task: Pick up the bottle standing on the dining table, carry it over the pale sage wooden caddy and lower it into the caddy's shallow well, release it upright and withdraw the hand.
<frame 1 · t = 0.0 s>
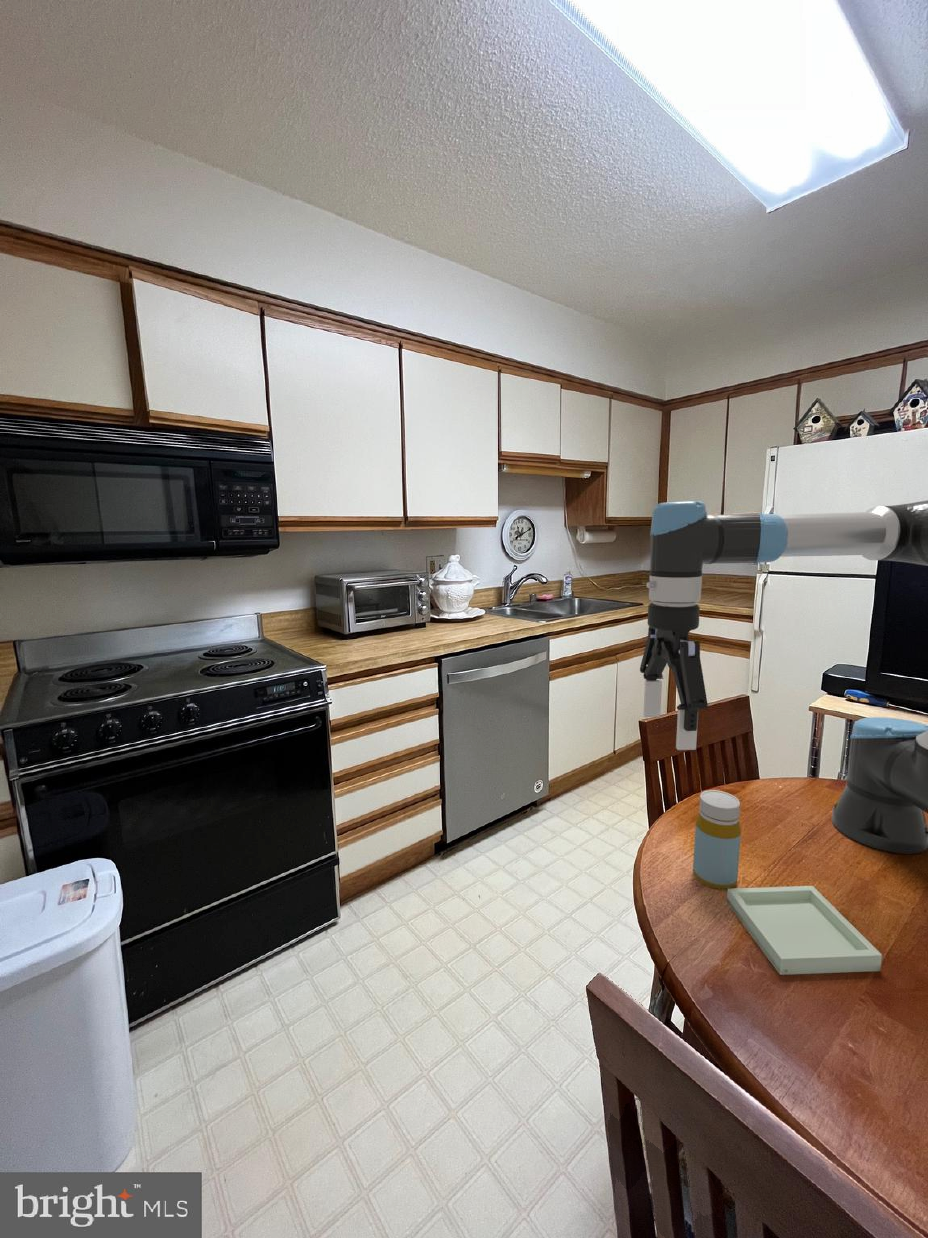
hand: (667, 731, 84), 28 cm above the table, fingers open, 13 cm apart
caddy: (796, 933, 78), on the table
bottle: (714, 879, 91), on the table
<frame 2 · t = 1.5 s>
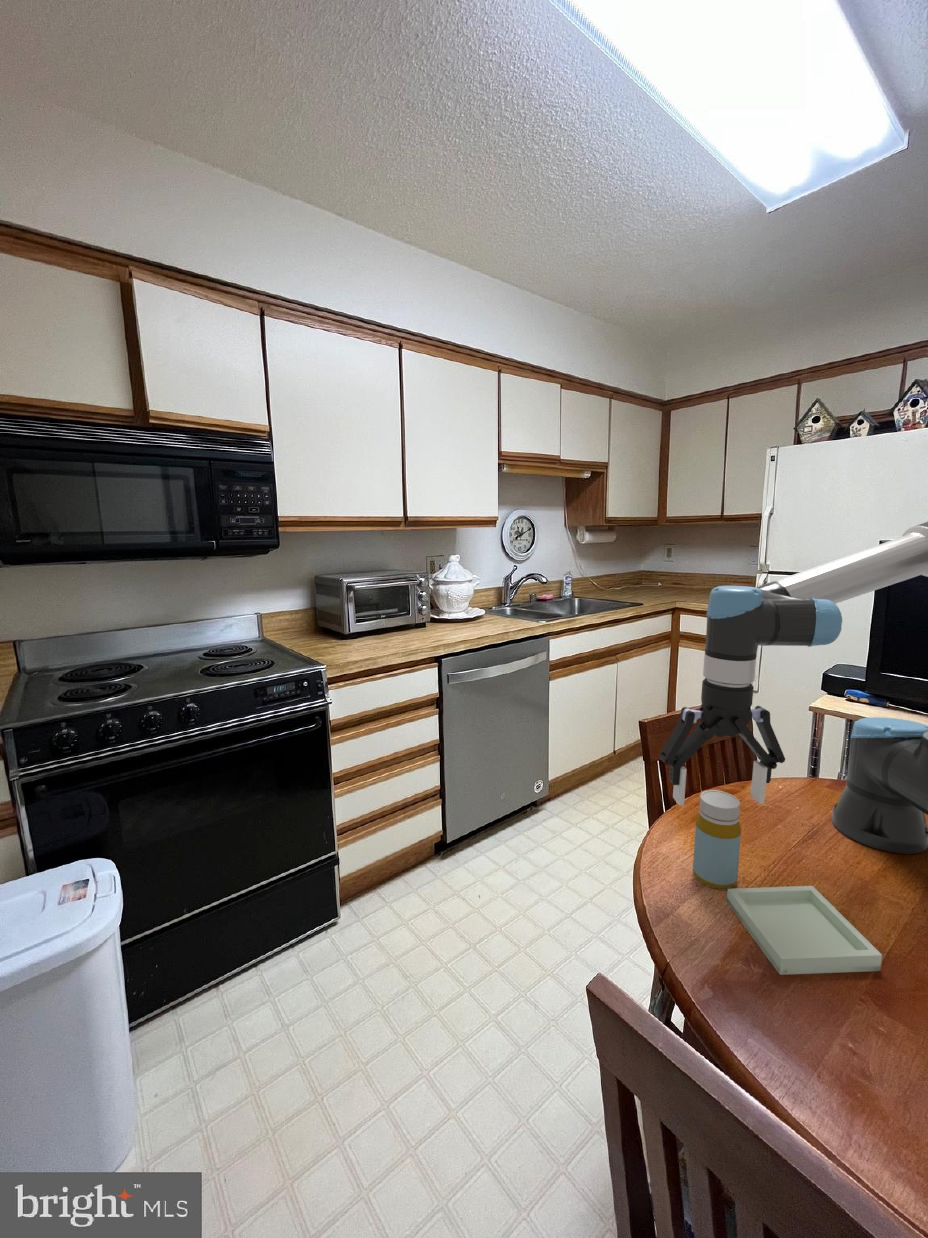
hand: (717, 800, 88), 15 cm above the table, fingers open, 13 cm apart
nothing on the table moved.
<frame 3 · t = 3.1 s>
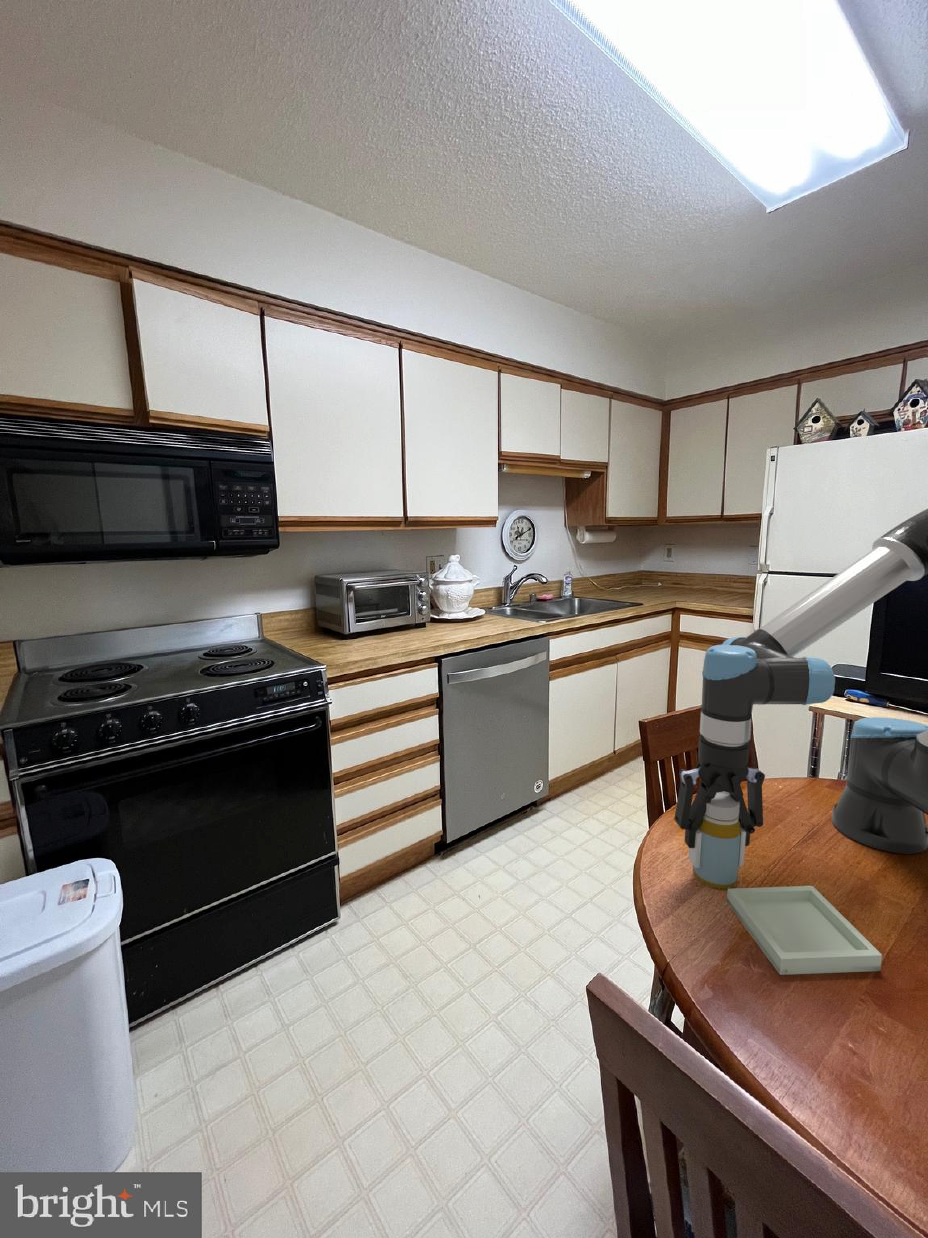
hand: (715, 862, 90), 3 cm above the table, fingers closed on bottle, 7 cm apart
bottle: (714, 878, 91), on the table, touching gripper
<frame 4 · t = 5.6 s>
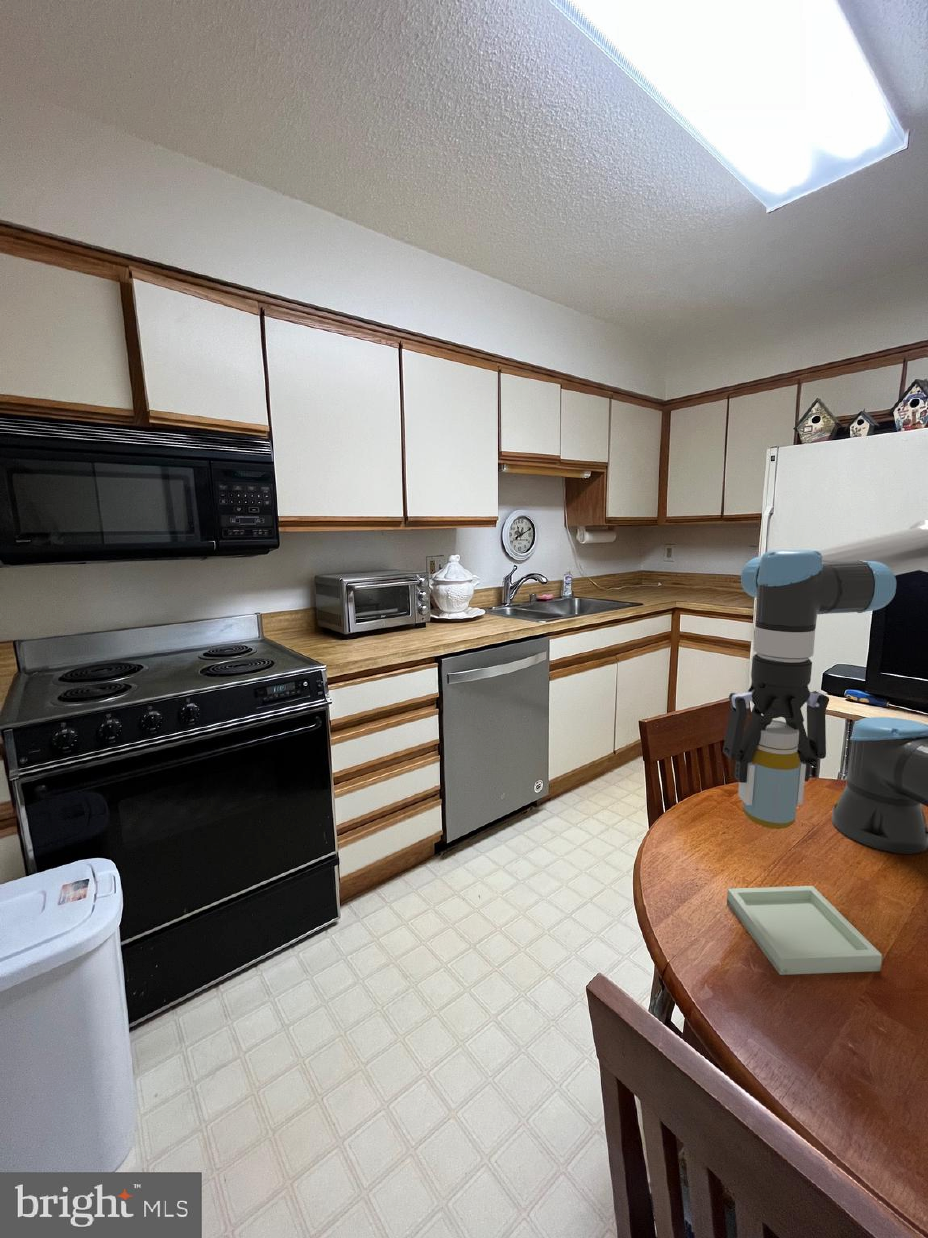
hand: (769, 800, 80), 19 cm above the table, fingers closed on bottle, 7 cm apart
bottle: (767, 819, 81), point 16 cm above the table, touching gripper
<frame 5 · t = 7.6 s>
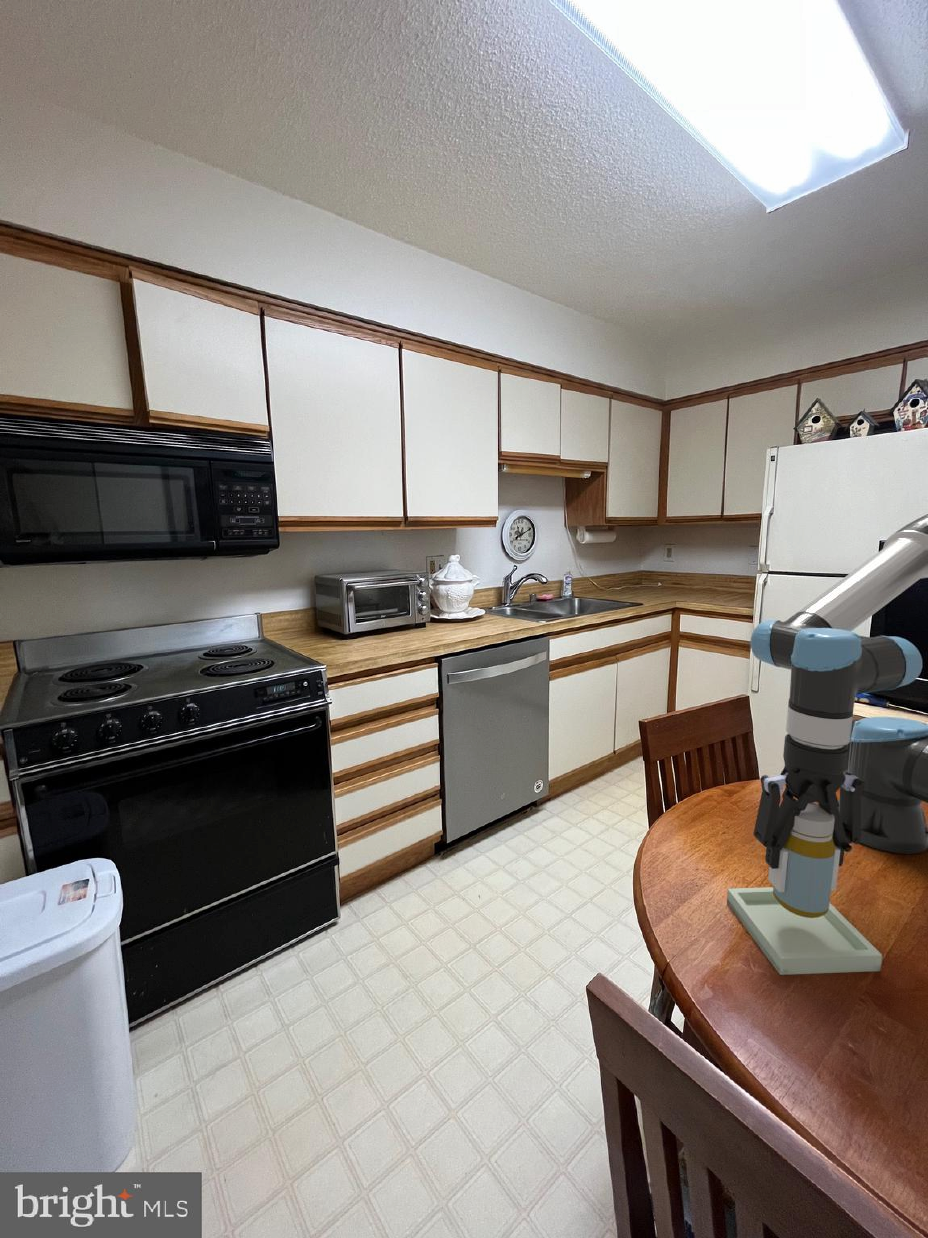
hand: (801, 885, 77), 8 cm above the table, fingers closed on bottle, 7 cm apart
bottle: (799, 904, 77), point 5 cm above the table, touching gripper
when the fingers open (5 cm above the table, at t = 8.5 s): bottle drops 2 cm, resting on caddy.
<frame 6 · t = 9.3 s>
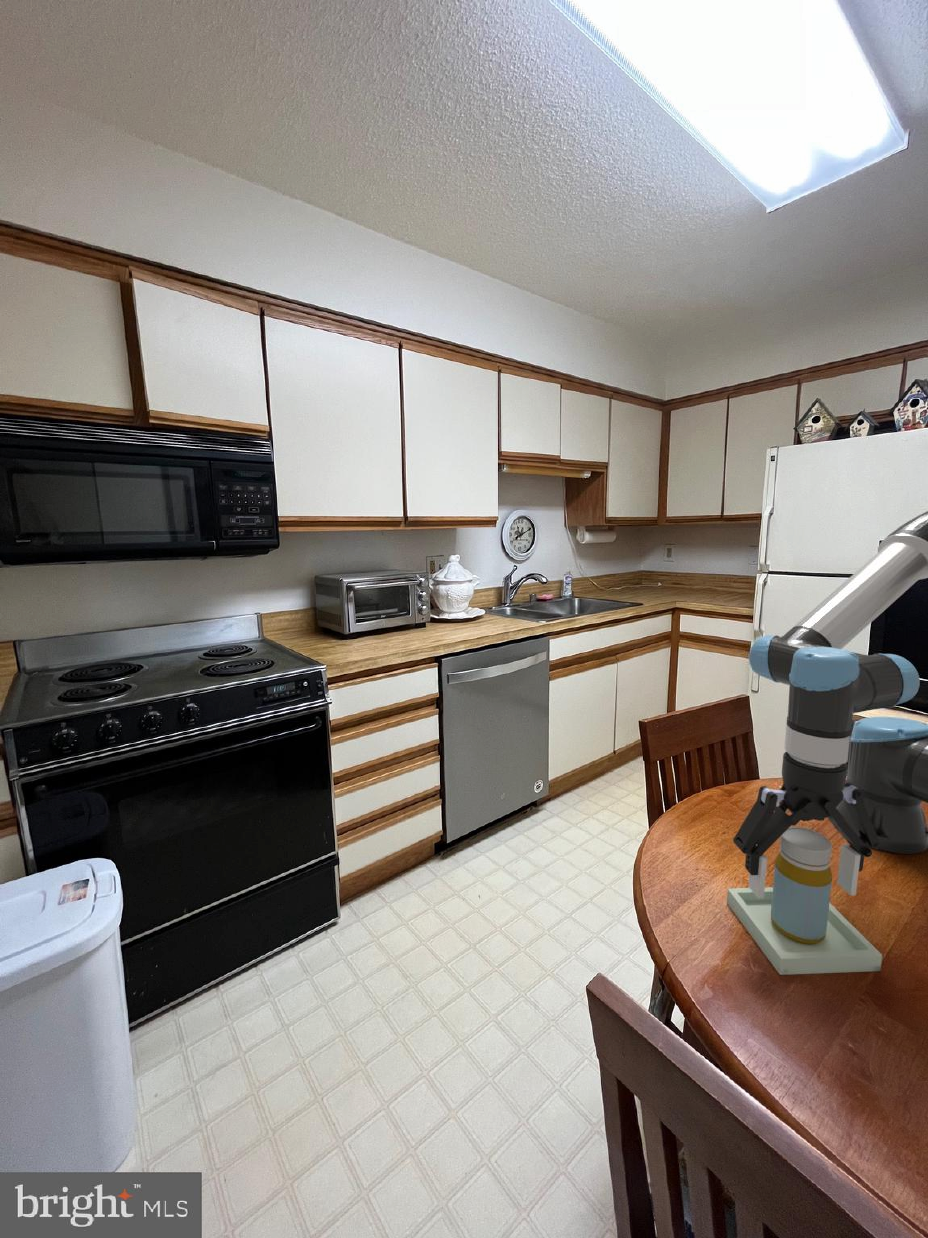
hand: (801, 891, 77), 7 cm above the table, fingers open, 13 cm apart
bottle: (797, 929, 78), point 1 cm above the table, touching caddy
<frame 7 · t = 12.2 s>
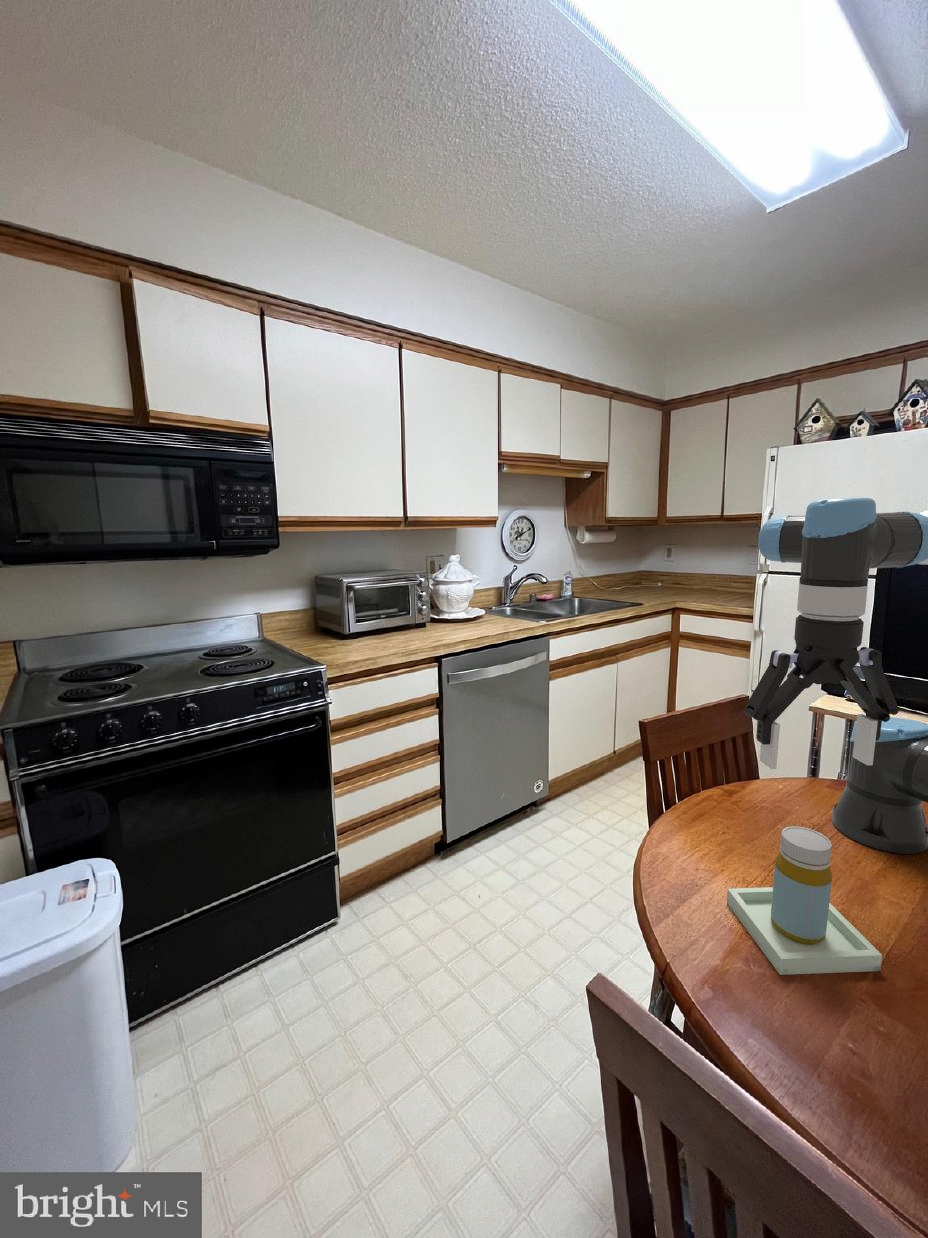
hand: (815, 763, 73), 27 cm above the table, fingers open, 13 cm apart
nothing on the table moved.
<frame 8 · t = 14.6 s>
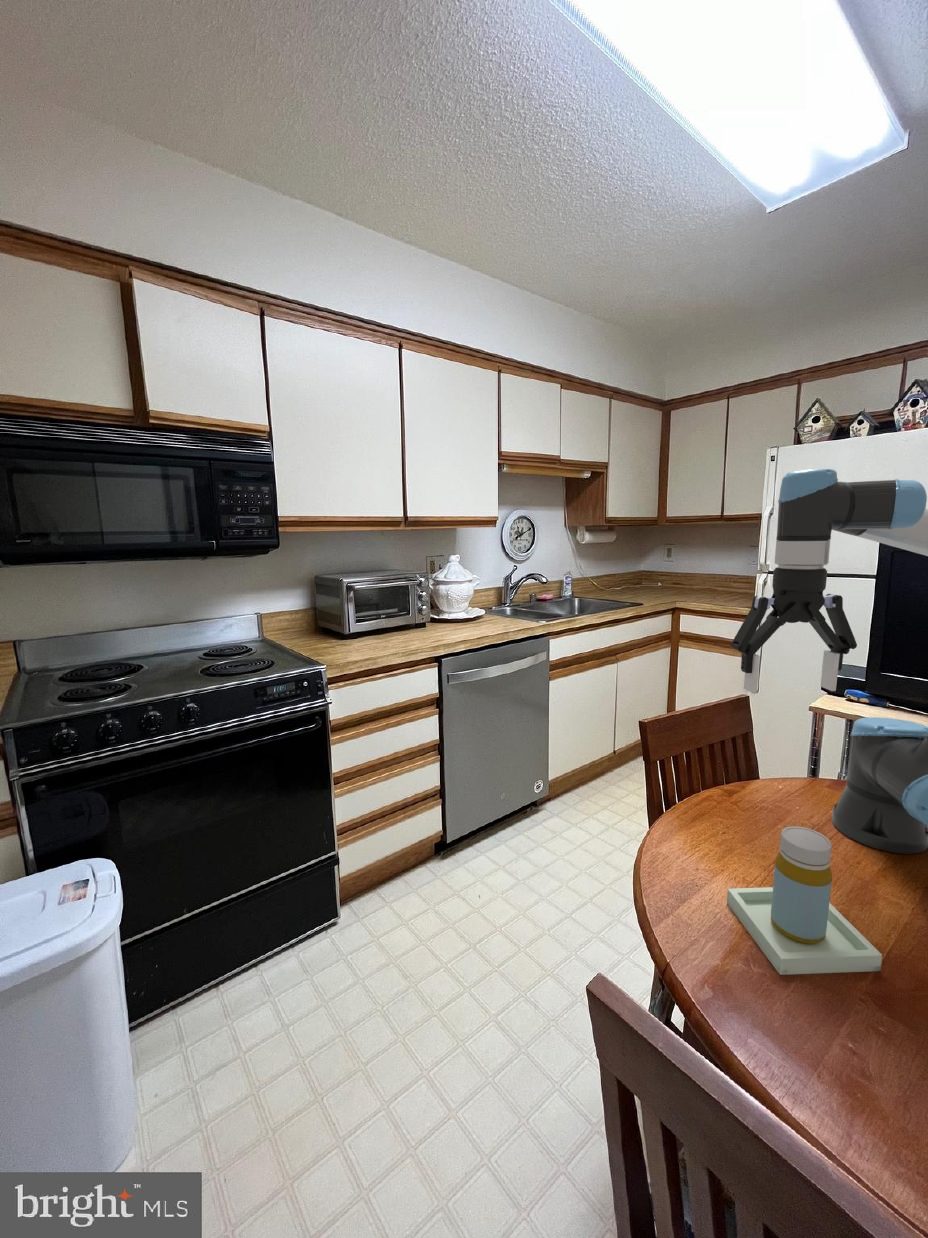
hand: (789, 690, 89), 33 cm above the table, fingers open, 13 cm apart
nothing on the table moved.
at the end: bottle inside the target area on the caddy (0.0 cm from its centre), point 0.6 cm above the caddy's base; bottle tilted 0°; the gripper is holding nothing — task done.
